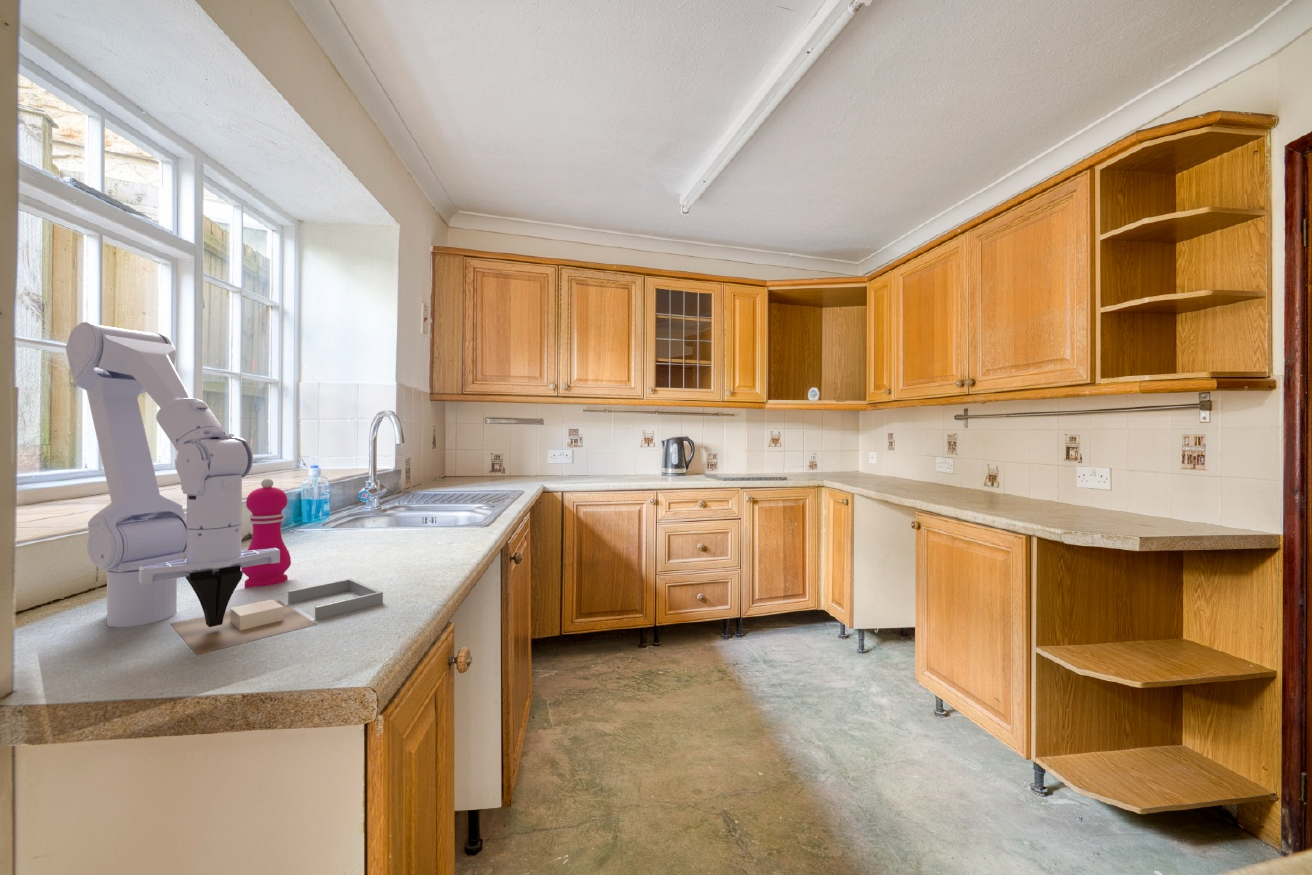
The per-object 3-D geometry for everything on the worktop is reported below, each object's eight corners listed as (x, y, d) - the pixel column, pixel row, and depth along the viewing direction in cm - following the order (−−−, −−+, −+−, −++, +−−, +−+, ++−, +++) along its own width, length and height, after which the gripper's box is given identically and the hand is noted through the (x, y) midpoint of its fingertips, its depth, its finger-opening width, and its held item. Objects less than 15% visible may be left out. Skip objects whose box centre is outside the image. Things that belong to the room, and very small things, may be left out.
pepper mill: (250, 596, 88) (251, 481, 88) (234, 589, 92) (235, 478, 91) (297, 586, 94) (298, 478, 94) (280, 579, 98) (281, 476, 98)
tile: (230, 621, 73) (230, 607, 73) (271, 612, 77) (272, 599, 77) (240, 630, 70) (240, 615, 70) (283, 620, 74) (283, 606, 74)
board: (170, 631, 72) (170, 623, 72) (279, 607, 83) (279, 600, 83) (196, 664, 63) (197, 654, 63) (317, 632, 73) (317, 624, 73)
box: (283, 610, 81) (283, 591, 81) (351, 595, 89) (351, 578, 89) (311, 629, 74) (312, 608, 74) (382, 610, 82) (382, 592, 82)
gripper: (145, 537, 62) (145, 649, 62) (287, 522, 73) (286, 616, 73) (136, 530, 66) (135, 634, 66) (271, 516, 77) (270, 605, 78)
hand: (214, 624), depth 70 cm, fingers closed
